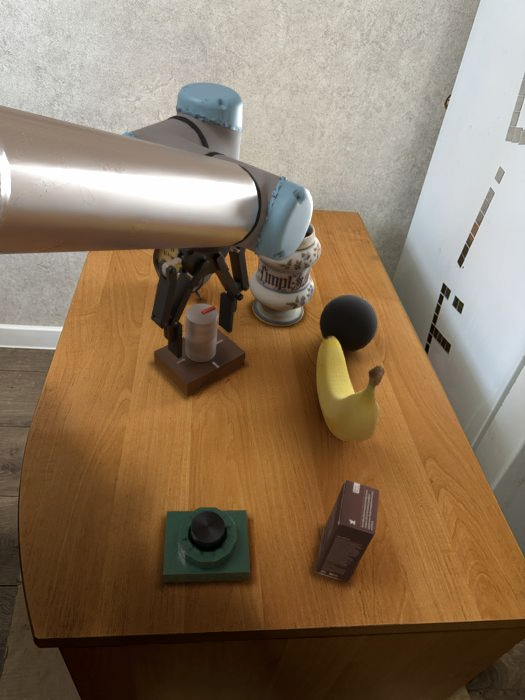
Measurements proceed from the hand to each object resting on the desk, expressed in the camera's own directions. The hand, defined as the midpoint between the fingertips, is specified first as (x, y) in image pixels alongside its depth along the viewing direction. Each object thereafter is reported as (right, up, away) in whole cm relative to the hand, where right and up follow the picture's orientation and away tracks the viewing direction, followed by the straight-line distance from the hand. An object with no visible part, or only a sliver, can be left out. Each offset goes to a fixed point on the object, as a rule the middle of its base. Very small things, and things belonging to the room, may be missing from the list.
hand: (201, 340), depth 85 cm
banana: (+21, -12, -1) cm, 24 cm away
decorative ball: (+24, -1, +12) cm, 27 cm away
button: (+3, -24, -22) cm, 32 cm away
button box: (+3, -26, -19) cm, 33 cm away
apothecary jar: (+13, +6, +17) cm, 22 cm away
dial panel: (-1, -4, +4) cm, 6 cm away
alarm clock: (-5, +10, +18) cm, 21 cm away
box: (+19, -28, -18) cm, 38 cm away
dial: (0, -2, +2) cm, 3 cm away
